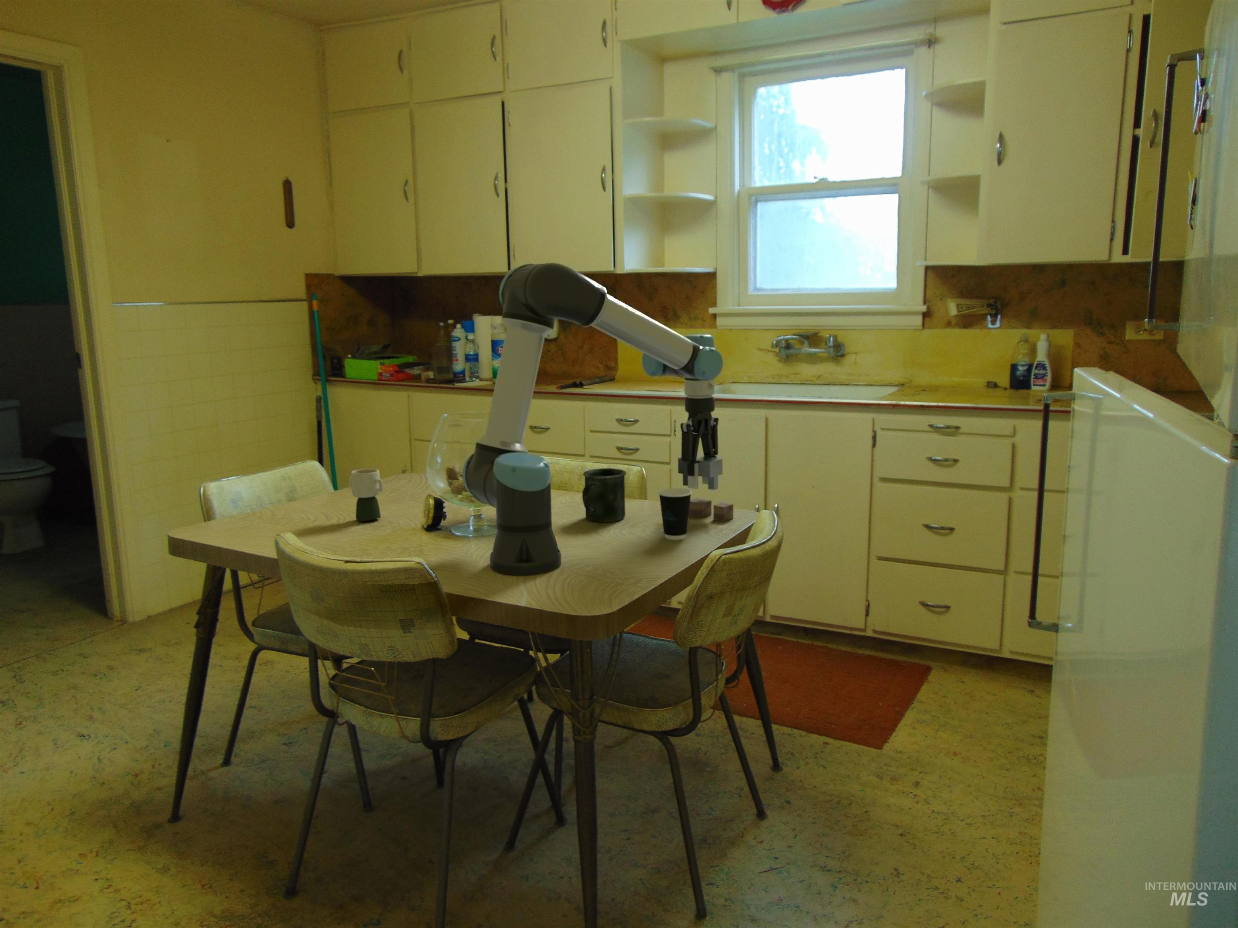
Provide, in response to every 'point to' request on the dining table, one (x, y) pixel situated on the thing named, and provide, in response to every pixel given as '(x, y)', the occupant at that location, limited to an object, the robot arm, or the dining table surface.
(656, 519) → the dining table surface
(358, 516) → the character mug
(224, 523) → the dining table surface
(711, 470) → the clip
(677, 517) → the dixie cup
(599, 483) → the mug
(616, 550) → the dining table surface
